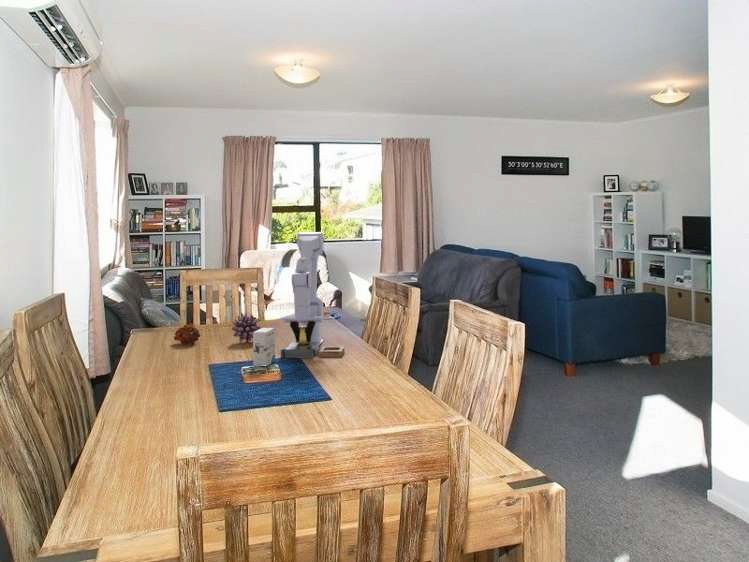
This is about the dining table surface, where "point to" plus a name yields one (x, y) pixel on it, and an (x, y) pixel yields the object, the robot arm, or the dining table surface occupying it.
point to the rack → (331, 352)
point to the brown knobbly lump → (187, 334)
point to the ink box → (263, 346)
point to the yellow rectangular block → (303, 335)
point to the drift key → (283, 352)
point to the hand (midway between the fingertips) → (303, 341)
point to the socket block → (301, 350)
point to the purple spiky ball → (245, 327)
